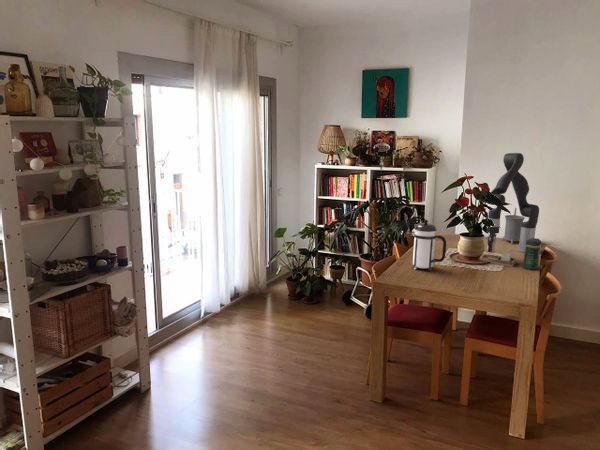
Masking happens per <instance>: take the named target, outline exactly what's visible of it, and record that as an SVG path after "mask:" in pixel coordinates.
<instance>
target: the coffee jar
mask: <svg viewBox="0 0 600 450" xmlns="http://www.w3.org/2000/svg"><path fill="white" fill-rule="evenodd" d="M541 244H542V241H541V240H540V238H536V237H535V238H531V239H528V240H526V246H525V252H524V255H523V261H522V262H523V263H522V268H523V269H526V270H534V271H535V270H536V269H538V267H539V258H540V252H541Z"/></svg>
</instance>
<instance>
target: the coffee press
mask: <svg viewBox="0 0 600 450" xmlns="http://www.w3.org/2000/svg"><path fill="white" fill-rule="evenodd" d="M428 222H429V220H428V219H424V220H423V222H419V223H417V224H416V225H415V227H414V228H413V229H412V230H411V232H412V233H414V234H413V237H414V241H413V251H412V253H413V254H412V265H413V266H412V267H411V269H412V270H413V271H415V270H416V269H417V268H419V269H427V271H428V272H432V271H433V266H434V263H440V262H443V261H444V260H445V258H446V253H447V240H446V238H445V237H444V236H443V235H436V233H437V230H438V229H437V228H436V227H437V226H436V225H434V224H433V223H428ZM436 239H439V240H441V241H442V256H441V258H434V257H435V247H436V246H435V245H436Z"/></svg>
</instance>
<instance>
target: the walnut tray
mask: <svg viewBox="0 0 600 450" xmlns="http://www.w3.org/2000/svg"><path fill="white" fill-rule="evenodd" d="M487 257H488V258H487ZM479 259H480V260H483V261H488V262H490V263H489V264H493V263H494V264H495V265H499V264H502V265H501V266H508V267H511V268H512V267H514V266H515V264H516V262H517V258H514V257H511V261H510V262H509V261H502V260H501V255H494V254H488V253H483V254H482V255H481V256H480V257H479ZM494 264H493V265H494Z"/></svg>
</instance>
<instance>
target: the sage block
mask: <svg viewBox="0 0 600 450" xmlns="http://www.w3.org/2000/svg"><path fill="white" fill-rule="evenodd" d="M500 256H501V260H502V261H509V262H510V261H511V258H512V254H511V253H505V252H502V253H501V255H500Z"/></svg>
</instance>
